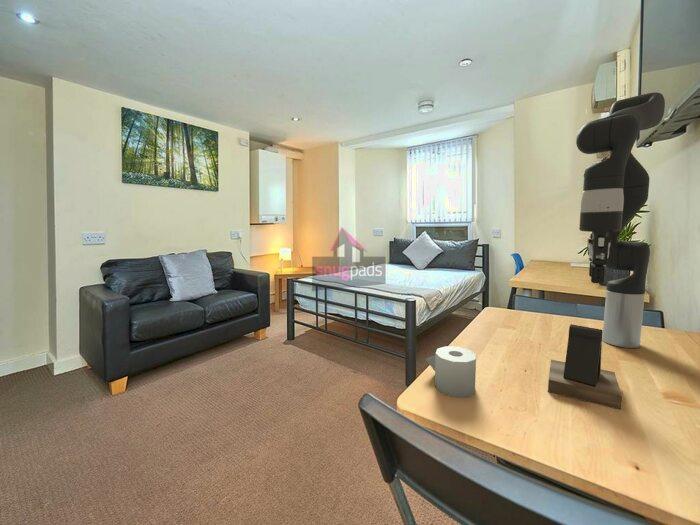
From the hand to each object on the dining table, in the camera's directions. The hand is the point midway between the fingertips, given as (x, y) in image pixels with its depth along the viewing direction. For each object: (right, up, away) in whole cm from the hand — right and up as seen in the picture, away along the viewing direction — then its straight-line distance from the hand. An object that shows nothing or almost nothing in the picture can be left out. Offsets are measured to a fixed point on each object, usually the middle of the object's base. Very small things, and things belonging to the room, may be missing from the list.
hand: (595, 279), depth 72 cm
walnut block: (-2, -26, +2) cm, 26 cm away
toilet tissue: (-33, -27, +4) cm, 42 cm away
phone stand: (-2, -23, +1) cm, 23 cm away
